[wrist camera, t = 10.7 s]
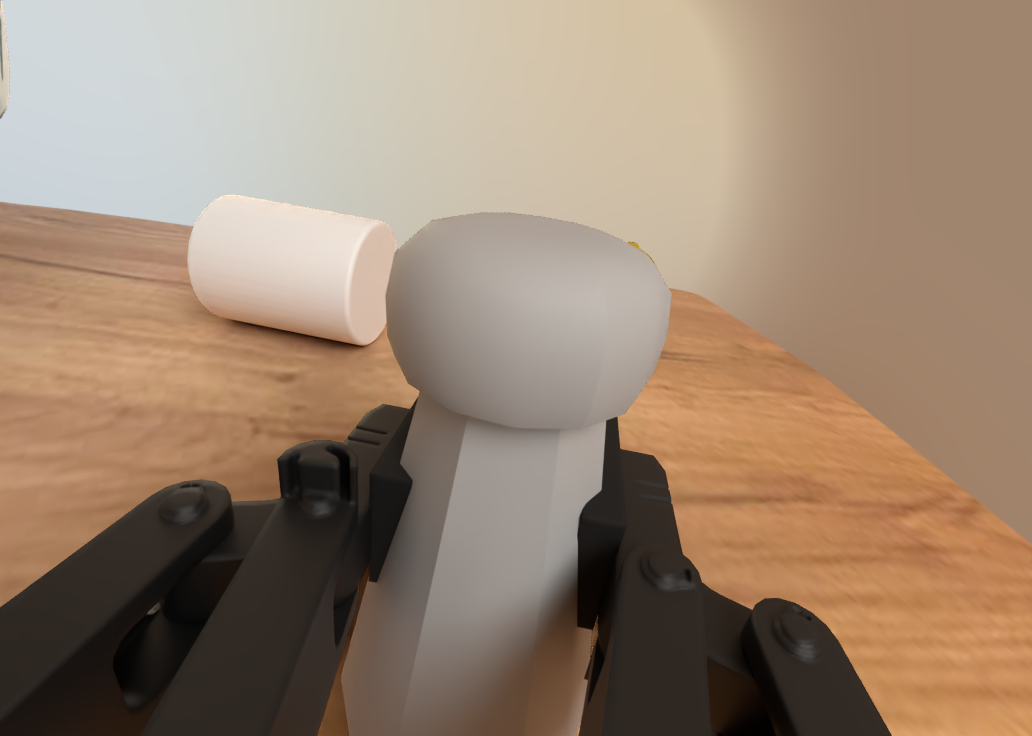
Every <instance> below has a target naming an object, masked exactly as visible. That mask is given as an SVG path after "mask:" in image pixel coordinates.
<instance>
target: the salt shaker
mask: <svg viewBox="0 0 1032 736" xmlns="http://www.w3.org/2000/svg"><path fill="white" fill-rule="evenodd" d="M671 295H672V294H671V292H670V290H669V288H668V287H667V285H666V283H665V281H664V279H663V278H662V276H661V274H660V272H659V270H658V269H657V267H656V265H655V264H654V263H653V262H652V260H651V259H650V258H649V257H648V256H647V255H646V253H645V252H643V251H641V250H639V249H638V248H636V247H634V246H632V245H630V244H629V243H627V242H625V241H623V240H621V239H619V238H616V237H614V236H612V235H610V234H608V233H605V232H603V231H600V230H597V229H594V228H590V227H587V226H583V225H580V224H577V223H573V222H568V221H563V220H557V219H552V218H546V217H541V216H533V215H524V214H516V213H475V214H467V215H459V216H453V217H448V218H442V219H437V220H432V221H430V222H429V223H428V224H427V225H426V226H424V227H423V228H422V229H421V230H420V231H419V232H417V233H416V234H415V235H414V236H413V237H411V238H410V239H409V240H408V241H407V242H406V243H405V244H404V245H402V246H401V247H400V248H399V249H398V250H397V251H396V252H395V253H394V257H393V262H392V267H391V271H390V276H389V281H388V285H387V290H386V295H385V299H386V318H387V336H388V339H389V341H390V344H391V347H392V349H393V352H394V355H395V357H396V359H397V361H398V363H399V365H400V367H401V369H402V371H403V374H404V376H405V378H406V380H407V382H408V384H410V385H411V386H413V387H414V388H416V389H418V390H419V391H420V393H419V396H418V400H417V403H416V407H415V411H414V414H413V418H412V421H411V425H410V429H409V432H408V436H407V440H406V443H405V447H404V450H403V454H402V458H401V461H400V464H401V465H402V467H403V468H404V469H405V470H406V472H407V473H408V474H409V476H410V477H411V478H412V480H413V482H412V488H411V491H410V494H409V496H408V499H407V502H406V505H405V507H404V510H403V513H402V515H401V518H400V521H399V524H398V526H397V529H396V532H395V535H394V537H393V540H392V543H391V545H390V548H389V551H388V554H387V556H386V559H385V562H384V565H383V567H382V570H381V573H380V575H379V578H378V581H377V583H375V582H370V581H369V577H368V581H367V584H366V588H365V591H364V595H363V599H362V602H361V606H360V609H359V613H358V617H357V620H356V624H355V628H354V631H353V635H352V638H351V642H350V646H349V649H348V653H347V657H346V660H345V664H344V667H343V671H342V675H341V683H342V690H343V697H344V703H345V710H346V717H347V724H348V730H349V736H576V733H577V731H578V728H579V725H580V723H581V719H582V713H583V707H584V701H585V695H586V689H587V683H588V680H585V679H584V677H585V674H586V671H587V668H588V665H589V662H590V650H591V635H592V630H589V629H585V628H580V627H577V586H578V539H577V533H578V529H579V524H580V519H581V513H582V509H583V507H584V506H585V504H586V503H587V502H588V501H589V500H590V499H592V498H593V497H594V496H595V495H596V494H597V493H599V492H600V491H601V489H602V474H603V460H604V445H605V430H606V420H609V419H612V418H614V417H617V416H620V415H623V414H625V413H626V412H627V410H628V409H629V408H630V406H631V405H632V404H633V402H634V401H635V400H636V398H637V397H638V395H639V394H640V392H641V391H642V390H643V388H644V387H645V385H646V384H647V382H648V381H649V380H650V378H651V377H652V375H653V374H654V371H655V369H656V366H657V363H658V360H659V357H660V355H661V352H662V349H663V346H664V344H665V341H666V338H667V332H668V323H669V314H670V304H671Z"/></svg>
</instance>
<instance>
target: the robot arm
mask: <svg viewBox="0 0 1032 736" xmlns="http://www.w3.org/2000/svg"><path fill="white" fill-rule="evenodd" d="M9 92H10V71H9V56H8V46H7V37H6V29H5V21H4V12H3V5H2V0H0V118H1V117H2V116H3V114H4V113H5V111H6V109H7V105H8V101H9ZM417 400H418V398H417V399H416V401H415V402H414V404H413V406H412V407H411V409H406V408H401V407H396V406H391V405H386V404H382V405H380V406H379V407H377V408H375V409H373V410H371V411H370V412H368V413H366V414H365V416H364V417H363V418H362V420H361V421H360V422H359V423H358V425H357V426H356V429H354V430H353V431H352V432H351V434H350V435H349V436H348V439H347V440H345V441H344V443H340V442H335V441H331V440H314V441H310V442H305V443H301V444H298V445H296V446H294V447H292V448H290V449H288V450H286V451H285V452H284V453H283V454H282V455H281V456H280V457H279V458H278V459H277V460H278V470H279V480H280V490H281V498H279V499H274V500H266V501H242V502H232V501H231V495H230V493H229V492H228V490H227V488H226V487H225V486H223V485H221V484H219V483H217V482H215V481H208V480H193V481H184V482H181V483H177V484H174V485H171V486H168V487H166V488H164V489H162V490H160V491H159V492H157V493H155V494H153V495H152V496H150V497H149V498H147V499H146V500H145V501H143V502H142V503H141V504H139V505H138V506H137V507H135V508H134V509H133V510H131V511H130V512H129V513H127V514H126V515H125V516H123V517H122V518H120V519H119V520H118V521H116V522H115V523H114V524H112V525H111V526H110V527H108V528H107V529H106V530H104V531H103V532H102V533H100V534H99V535H98V536H96V537H95V538H93V539H92V540H91V541H89V542H88V543H87V544H85V545H84V546H83V547H81V548H80V549H79V550H77V551H76V552H75V553H73V554H72V555H71V556H69V557H68V558H67V559H65V560H64V561H62V562H61V563H60V564H58V565H57V566H56V567H54V568H53V569H52V570H50V571H49V572H48V573H46V574H45V575H44V576H42V577H41V578H40V579H38V580H37V581H35V582H34V583H33V584H31V585H30V586H29V587H27V588H26V589H25V590H23V591H22V592H21V593H19V594H18V595H17V596H15V597H14V598H13V599H11V600H10V601H9V602H7V603H6V604H4V605H3V606H2V607H0V736H317V734H318V731H319V728H320V724H321V721H322V718H323V715H324V711H325V708H326V705H327V702H328V698H329V695H330V692H331V689H332V685H333V682H334V679H335V676H336V672H337V669H338V666H339V663H340V659H341V656H342V653H343V650H344V646H345V643H346V640H347V637H348V633H349V630H350V627H351V624H352V620H353V617H354V614H355V611H356V607H357V604H358V596H359V582H360V580H361V578H362V576H363V574H364V572H365V570H366V568H367V566H368V564H369V581H370V582H375V583H377V581H378V578H379V575H380V573H381V570H382V567H383V565H384V562H385V559H386V556H387V554H388V551H389V548H390V545H391V543H392V540H393V537H394V535H395V532H396V529H397V526H398V524H399V521H400V518H401V515H402V513H403V510H404V507H405V505H406V502H407V499H408V496H409V494H410V491H411V488H412V482H413V480H412V478H411V477H410V476H409V474H408V473H407V472H406V470H405V469H404V468H403V467H402V465H401V464H400V461H401V458H402V454H403V450H404V447H405V443H406V440H407V436H408V432H409V429H410V425H411V421H412V418H413V414H414V411H415V407H416V403H417ZM577 539H578V586H577V627H580V628H585V629H589V630H593V628H594V624H595V621H596V618H597V615H598V638H597V641H596V644H595V647H594V650H593V653H592V656H591V659H590V662H589V665H588V668H587V671H586V674H585V677H584V679H585V680H588V683H587V689H586V695H585V701H584V707H583V713H582V719H581V726H580V732H579V736H892V735H891V733H890V732H889V730H888V728H887V726H886V725H885V723H884V721H883V719H882V717H881V716H880V714H879V712H878V710H877V709H876V707H875V705H874V703H873V702H872V700H871V698H870V696H869V694H868V693H867V691H866V689H865V687H864V686H863V684H862V682H861V680H860V678H859V677H858V675H857V673H856V671H855V670H854V668H853V666H852V664H851V662H850V661H849V659H848V657H847V655H846V654H845V652H844V650H843V648H842V647H841V645H840V643H839V641H838V640H837V638H836V637H835V636H834V634H833V633H832V632H831V630H830V629H829V628H828V626H827V625H826V624H824V623H823V622H822V621H821V620H820V619H819V618H818V617H816V616H815V615H814V614H813V613H812V612H810V611H808V610H807V609H805V608H803V607H801V606H799V605H798V604H796V603H794V602H790V601H787V600H783V599H780V598H770V599H764V600H762V601H760V602H759V603H757V604H756V605H755V606H754V608H753V610H751V609H749V608H747V607H745V606H743V605H741V604H739V603H736V602H734V601H732V600H730V599H728V598H726V597H724V596H722V595H720V594H718V593H717V592H715V591H713V590H711V589H710V588H709V587H707V586H706V585H705V584H704V583H702V581H701V578H700V575H699V572H698V570H697V569H696V568H695V566H694V565H693V564H692V562H691V561H690V560H689V559H688V558H687V557H685V556H684V555H683V553H682V548H681V544H680V539H679V534H678V530H677V525H676V520H675V515H674V511H673V506H672V504H671V496H670V492H669V490H668V482H667V477H666V473H665V470H664V469H663V468H662V466H661V465H660V464H659V462H658V461H657V460H656V458H655V457H654V456H653V455H648V454H643V453H638V452H633V451H627V450H622V449H620V442H619V430H618V419H617V417H614V418H612V419H609V420H606V430H605V445H604V460H603V474H602V489H601V491H600V492H599V493H597V494H596V495H595V496H594V497H593V498H592V499H590V500H589V501H588V502H587V503H586V504H585V506H584V507H583V509H582V513H581V519H580V524H579V529H578V533H577Z"/></svg>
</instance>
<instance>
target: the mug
mask: <svg viewBox="0 0 1032 736" xmlns="http://www.w3.org/2000/svg"><path fill="white" fill-rule="evenodd" d="M396 251H397V245H396V241H395V237H394V235H393V233H392V231H391V229H390V227H389V226H388V225H387V224H386V223H384V222H382V221H379V220H374V219H368V218H362V217H357V216H351V215H346V214H340V213H335V212H329V211H324V210H318V209H312V208H307V207H302V206H296V205H291V204H285V203H279V202H274V201H268V200H263V199H257V198H252V197H246V196H241V195H225V196H222V197H219V198H217V199H215V200H214V201H212V202H211V203H210V204H209V205H208V206H207V207H206V208H205V209H204V210H203V211H202V213H201V214H200V215H199V217H198V219H197V221H196V223H195V225H194V227H193V230H192V233H191V236H190V240H189V245H188V256H187V262H188V273H189V278H190V282H191V285H192V288H193V290H194V293H195V295H196V296H197V298H198V300H199V301H200V303H201V304H202V305H203V306H204V307H205V308H206V309H207V310H208V311H210V312H211V313H213V314H214V315H216V316H219V317H222V318H227V319H232V320H237V321H242V322H247V323H252V324H257V325H262V326H267V327H272V328H277V329H282V330H286V331H291V332H296V333H301V334H306V335H311V336H316V337H321V338H326V339H331V340H336V341H341V342H346V343H351V344H356V345H362V346H363V345H368V344H370V343H372V342H373V341H374V340H375V339H376V338H377V337H378V336H379V335H380V334H381V332H382V331H383V329H384V327H385V325H386V323H387V318H386V299H385V295H386V290H387V285H388V281H389V276H390V271H391V267H392V262H393V257H394V253H395V252H396Z"/></svg>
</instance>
